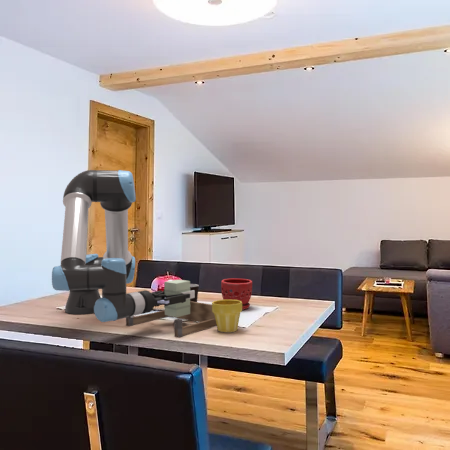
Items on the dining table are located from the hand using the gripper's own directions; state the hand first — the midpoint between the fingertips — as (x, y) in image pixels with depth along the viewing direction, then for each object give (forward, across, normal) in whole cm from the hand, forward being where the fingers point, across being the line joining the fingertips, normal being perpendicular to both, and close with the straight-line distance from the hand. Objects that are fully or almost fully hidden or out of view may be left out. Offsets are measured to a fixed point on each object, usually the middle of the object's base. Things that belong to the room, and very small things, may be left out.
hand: (187, 292), depth 170 cm
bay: (-8, 0, -11) cm, 13 cm away
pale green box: (-5, 0, -7) cm, 9 cm away
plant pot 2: (-1, +20, -11) cm, 23 cm away
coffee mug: (+18, -16, -11) cm, 26 cm away
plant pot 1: (+30, 0, -11) cm, 32 cm away
